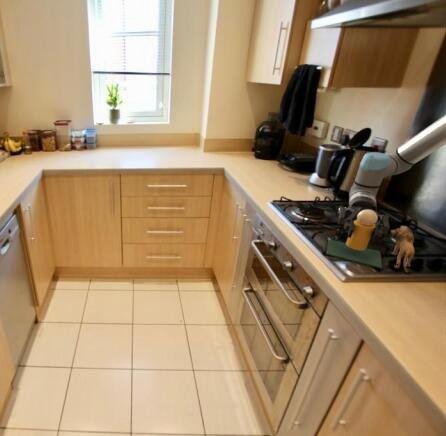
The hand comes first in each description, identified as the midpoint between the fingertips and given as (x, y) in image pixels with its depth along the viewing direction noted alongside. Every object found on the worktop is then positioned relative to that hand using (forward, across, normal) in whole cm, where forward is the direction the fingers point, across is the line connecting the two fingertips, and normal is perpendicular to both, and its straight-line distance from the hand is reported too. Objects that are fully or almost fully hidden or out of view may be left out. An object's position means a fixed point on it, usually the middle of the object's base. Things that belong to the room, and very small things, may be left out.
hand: (362, 236), depth 91 cm
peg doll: (-5, 0, -6) cm, 8 cm away
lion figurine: (-9, -12, -10) cm, 17 cm away
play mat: (-5, 0, -9) cm, 11 cm away
